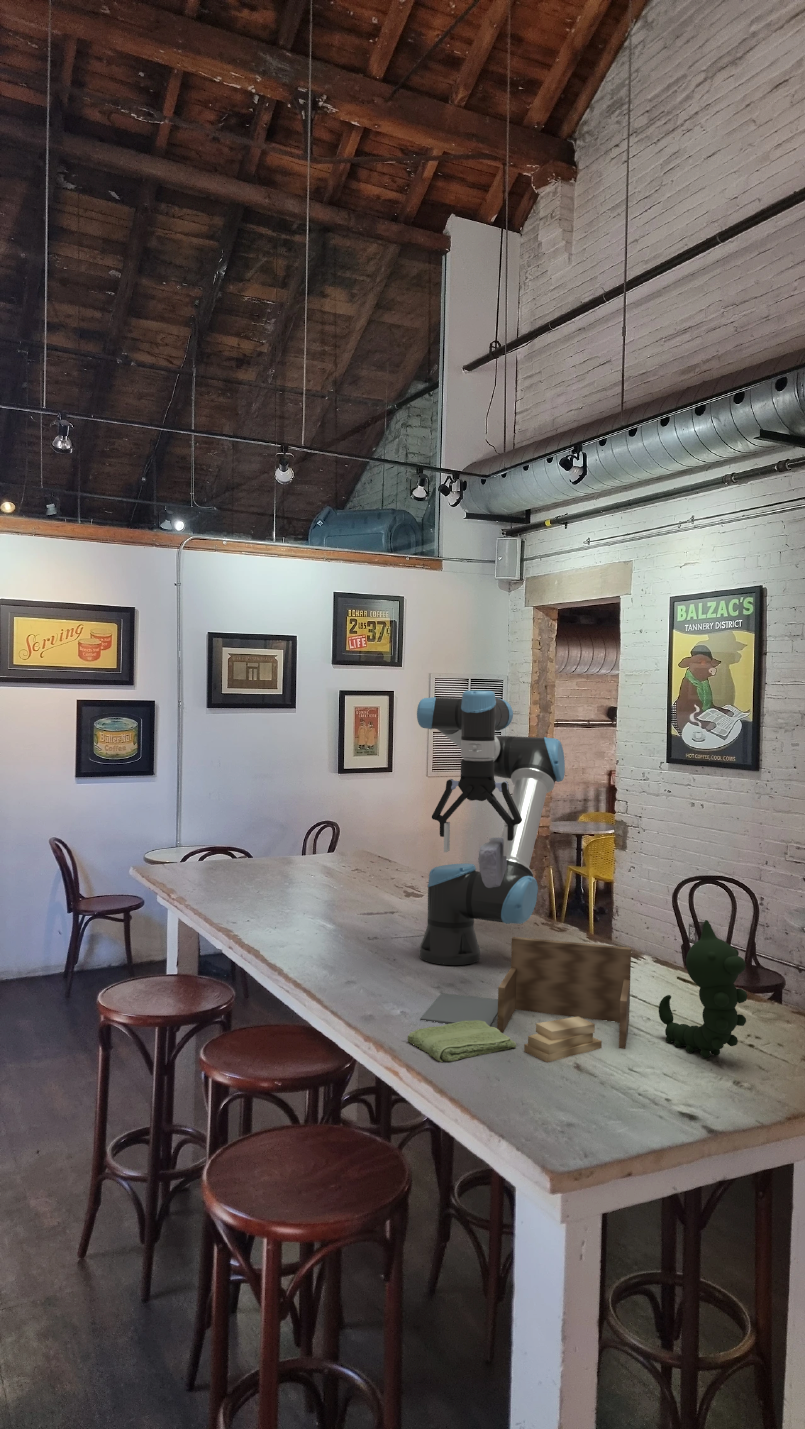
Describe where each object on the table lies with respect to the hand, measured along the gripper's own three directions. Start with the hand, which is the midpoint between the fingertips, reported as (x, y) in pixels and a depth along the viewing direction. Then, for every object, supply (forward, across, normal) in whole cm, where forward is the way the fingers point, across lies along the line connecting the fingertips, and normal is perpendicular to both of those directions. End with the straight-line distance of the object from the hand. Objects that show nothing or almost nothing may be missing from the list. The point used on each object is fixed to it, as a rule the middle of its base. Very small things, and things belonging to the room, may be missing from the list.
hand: (476, 853), depth 210 cm
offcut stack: (+30, +23, -32) cm, 50 cm away
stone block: (+7, +6, 0) cm, 9 cm away
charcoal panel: (+30, +1, -18) cm, 35 cm away
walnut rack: (+30, +22, -21) cm, 43 cm away
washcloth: (+30, +4, -36) cm, 48 cm away
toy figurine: (+30, +47, -25) cm, 61 cm away
